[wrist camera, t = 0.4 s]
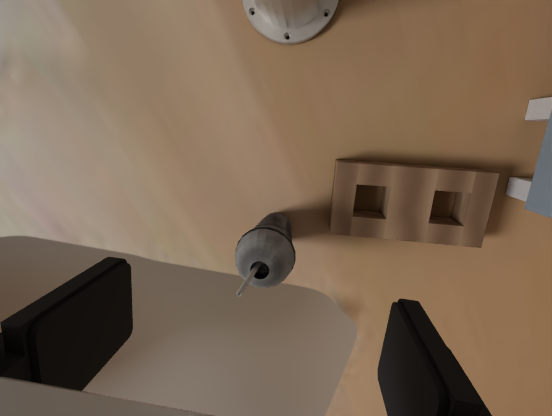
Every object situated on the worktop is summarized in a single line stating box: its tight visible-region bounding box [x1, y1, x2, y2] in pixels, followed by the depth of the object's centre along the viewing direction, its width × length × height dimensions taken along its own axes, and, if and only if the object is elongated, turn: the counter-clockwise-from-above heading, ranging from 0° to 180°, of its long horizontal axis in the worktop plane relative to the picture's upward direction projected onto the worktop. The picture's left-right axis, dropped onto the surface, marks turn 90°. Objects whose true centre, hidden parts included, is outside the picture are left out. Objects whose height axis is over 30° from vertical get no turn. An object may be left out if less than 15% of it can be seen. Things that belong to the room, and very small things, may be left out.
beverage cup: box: [235, 213, 295, 296], centre depth 38 cm, size 7×7×20 cm
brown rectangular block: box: [329, 159, 500, 248], centre depth 42 cm, size 20×10×4 cm, turn 86°
